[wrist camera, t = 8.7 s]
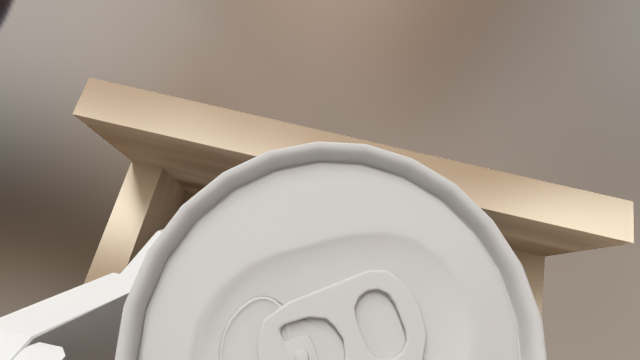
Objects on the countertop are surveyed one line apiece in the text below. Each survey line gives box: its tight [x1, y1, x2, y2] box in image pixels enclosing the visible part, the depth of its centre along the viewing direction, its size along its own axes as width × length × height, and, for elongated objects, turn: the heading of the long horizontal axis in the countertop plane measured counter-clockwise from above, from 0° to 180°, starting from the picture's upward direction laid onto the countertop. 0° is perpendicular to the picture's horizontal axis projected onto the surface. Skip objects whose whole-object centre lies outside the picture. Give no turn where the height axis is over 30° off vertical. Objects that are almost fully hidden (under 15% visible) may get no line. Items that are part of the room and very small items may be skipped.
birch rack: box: [73, 78, 634, 318], centre depth 14 cm, size 14×16×9 cm
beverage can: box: [115, 141, 547, 360], centre depth 10 cm, size 5×5×12 cm
